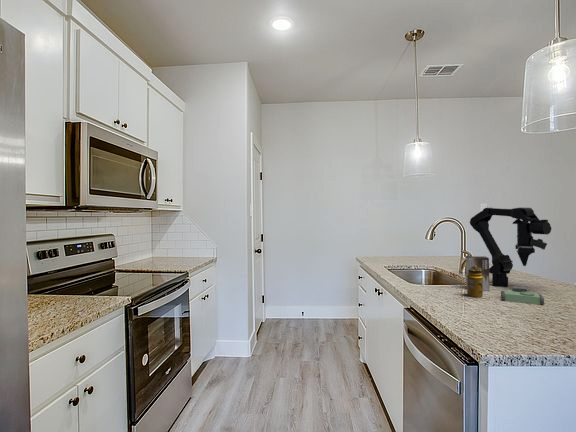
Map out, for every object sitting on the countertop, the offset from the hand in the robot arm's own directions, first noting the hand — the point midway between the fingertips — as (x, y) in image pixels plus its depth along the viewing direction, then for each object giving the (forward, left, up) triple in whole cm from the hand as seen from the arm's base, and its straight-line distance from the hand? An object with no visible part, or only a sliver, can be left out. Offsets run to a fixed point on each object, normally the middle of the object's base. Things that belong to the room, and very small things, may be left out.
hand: (524, 265), depth 158 cm
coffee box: (-20, -7, -12) cm, 24 cm away
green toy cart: (-3, -20, -12) cm, 24 cm away
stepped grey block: (-3, -15, -12) cm, 20 cm away
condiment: (-21, -24, -12) cm, 34 cm away
